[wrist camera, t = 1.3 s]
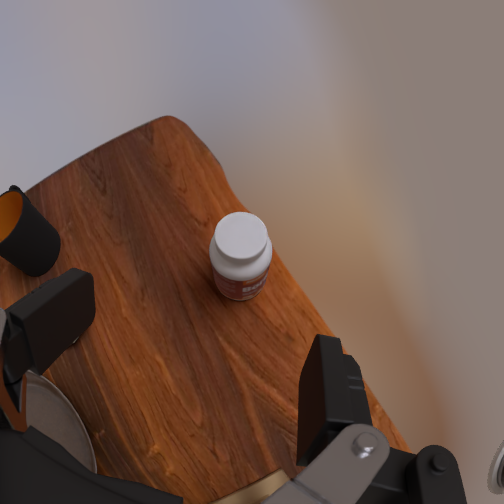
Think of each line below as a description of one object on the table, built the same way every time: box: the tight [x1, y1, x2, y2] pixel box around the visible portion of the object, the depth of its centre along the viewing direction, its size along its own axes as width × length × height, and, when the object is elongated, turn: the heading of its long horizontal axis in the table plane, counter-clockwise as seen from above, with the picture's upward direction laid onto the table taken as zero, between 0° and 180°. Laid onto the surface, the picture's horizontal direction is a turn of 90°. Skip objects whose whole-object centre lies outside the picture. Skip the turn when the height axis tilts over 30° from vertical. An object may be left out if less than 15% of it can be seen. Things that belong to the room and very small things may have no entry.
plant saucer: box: [25, 370, 97, 474], centre depth 23 cm, size 21×21×3 cm
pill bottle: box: [209, 212, 272, 300], centre depth 31 cm, size 6×6×11 cm
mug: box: [0, 185, 60, 276], centre depth 32 cm, size 8×12×10 cm
